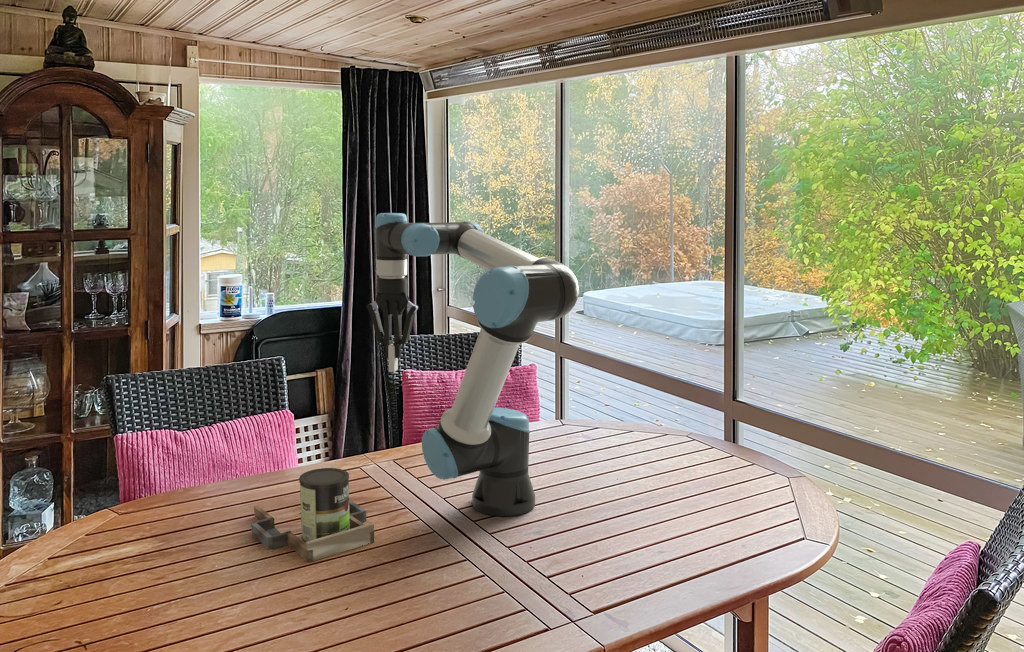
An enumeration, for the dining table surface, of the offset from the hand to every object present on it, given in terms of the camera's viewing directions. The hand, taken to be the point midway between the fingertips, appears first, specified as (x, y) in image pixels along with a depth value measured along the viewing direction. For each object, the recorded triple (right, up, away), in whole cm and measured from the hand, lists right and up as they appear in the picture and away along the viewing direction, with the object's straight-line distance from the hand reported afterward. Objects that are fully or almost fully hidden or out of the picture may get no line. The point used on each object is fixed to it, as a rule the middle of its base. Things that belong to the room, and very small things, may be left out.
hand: (393, 370), depth 195 cm
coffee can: (-10, -35, -27) cm, 45 cm away
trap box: (-15, -34, -22) cm, 43 cm away
